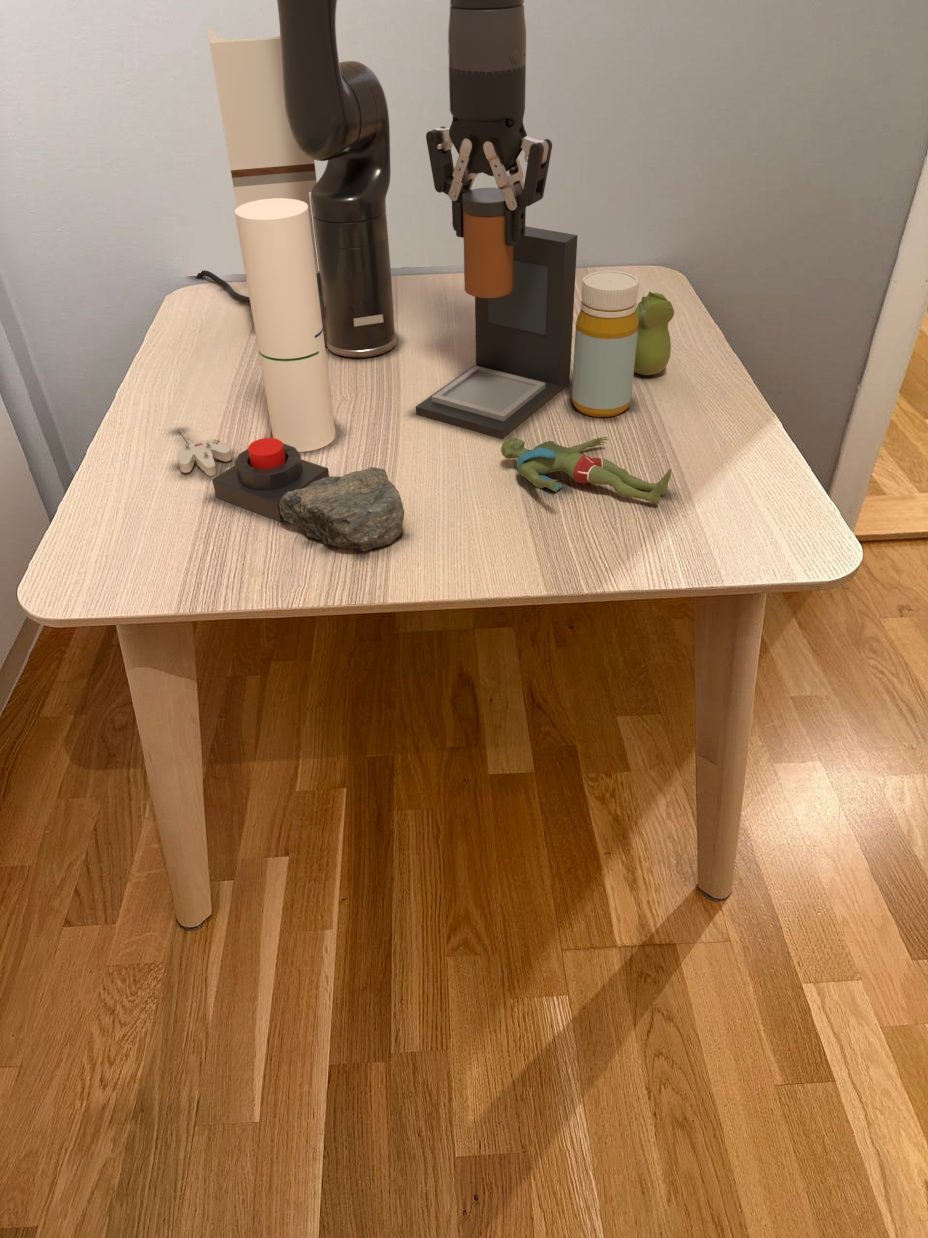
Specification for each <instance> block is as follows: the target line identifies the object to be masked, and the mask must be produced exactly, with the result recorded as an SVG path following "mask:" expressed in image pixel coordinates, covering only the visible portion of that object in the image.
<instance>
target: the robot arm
mask: <svg viewBox="0 0 928 1238" xmlns="http://www.w3.org/2000/svg"><path fill="white" fill-rule="evenodd" d="M448 1H449V2H448V3H449V12H448V13H449V14H448V15H449V16H448V26H447V56H448V57H447V60H448V91H449V93H448V94H449V96H448V97H449V112H450V114H451V116H452V120H451V124H450V126H449V127H446V126H439V127H436V128H433V129H431V130H428V131H427V132H426V134H425V139H426V146H427V152H428V157H429V163H430V168H431V173H432V180H433V185H434V186H433V187H434V190H435V191H436V192H437V193H439V194H440V193H441V194H442V193H443V194H445V195H447V196H448V198H449V199H450V201H451V219H452V223H451V224H452V225H451V226H452V229H453V231H455V236H456V237H457V238H463V239H464V233H463V210H462V194H463V193H465V192H466V191H469V190H472V188H473V184H474V181H475V179H476V177H477V176H478V175H479V174H484V175H487V176H488V177H494V180H495V181H494V182H495V184H496V186H497V188H499V189H501V190H502V193H503V196H504V199H505V202H506V204H507V207H508V209H507V210H506V224H505V243H506V245H507V246H515V245H516V244H518V243H520V241H521V239H522V238H524V235H525V226H526V217H527V216H526V213H527V211H526V210H527V207H530V206H532V205H533V204H535V203H537V202H539V201H541V200H543V198H544V195H545V189H546V183H547V178H548V173H549V167H550V161H551V155H552V150H553V142H552V141H551V140H550V138H544V139H542V140H540V139H536V138H533V137H531V136H528V134H527V131H526V128H525V124H524V118H525V117H524V116H525V111H526V77H527V75H526V73H527V70H526V69H527V26H526V18H525V15H526V14H525V4H524V3H525V0H448ZM276 3H277V11H278V21H279V36H280V39H281V56H282V73H283V89H284V101H285V109H286V115H287V120H288V124H289V127H290V130H291V133H292V135H293V137H294V139H295V141H296V143H297V144H298V146H299V147H300V149H301V150H302V151H303V152H304V153H305V154H306V155H307V156H309V157H310V158H312V159H314V161H317V162H327V163H326V166H325V168H324V171H323V173H322V175H321V176H320V178H319V179H318V180H317V183H316V185H315V186H314V188H313V189H312V192H310V206H311V214H312V223H313V231H314V239H315V248H316V256H317V265H318V273H316V276H317V284H318V292H319V301H320V309H321V318H322V326H323V334H324V342H325V347H327V349H328V351H330V352H331V353H333V354H334V355H338V356H340V357H345V358H358V359H359V358H360V359H361V358H370V357H375V356H379V355H383V354H385V353H387V352H389V351H391V350H393V349H394V347H396V344H397V333H396V325H395V311H394V298H393V283H392V268H391V255H390V243H389V231H388V216H387V215H388V214H387V195H388V192H389V188H390V184H391V169H392V168H391V130H390V128H391V127H390V113H389V112H390V111H389V107H388V106H389V105H388V101H387V100H388V99H387V96H386V93H385V90H384V89H385V88H384V87H383V84H382V82H381V80H380V78H379V77H378V75H377V74H376V72H375V71H374V70H373V69H372V68H371V67H369V66H368V65H367V64H366V63H363V62H361V61H357V60H344V61H340V59H339V58H340V57H339V51H338V50H339V49H338V40H337V10H338V9H337V8H338V3H339V0H276ZM452 147H454V148H455V150H456V152H457V154H458V157H457V159H456V163H455V166H454V161H453V154H452ZM522 151H523V152H524V162H526V163H527V165H526V171H525V177H524V172H523V169H522V165H521V163H520V160H519V156H520V154H521V153H522ZM201 271H202V272H201V273H199V272H198V273H197V275H196V277H195V278H196V279H197V280H201V279H202V278H203V277H207V278H208V279H211V280H213V281H214V282H215V283H217V284H218V285H219V286H221V287H223V288H224V289H225V290H226V292H227V293H228V294H229V295H230V296H231V297H233V298H234V299H235V300H238V301H240V302H244V303H247V304H250V298H249V296H246V295H242V294H240V293H238V292H236V291H235V290H234V289H233V287H232V286H231V285H230V284H229V283H228V282H226V281H225V280H224V279H222V278H221V277H219V276H218V275H217V274H215V273H213V272H211V271H209V270H201Z"/></svg>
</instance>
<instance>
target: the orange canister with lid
mask: <svg viewBox="0 0 928 1238" xmlns="http://www.w3.org/2000/svg"><path fill="white" fill-rule="evenodd" d="M507 209H508V207H507V204H506V202H505V199H504V196H503V193H502V190H501V189H499V188H498V187H479V188H473V189H471V190H469V191H466V192H465V193H463V194H462V210H463V233H464V238H463V271H464V272H463V273H464V274H463V275H464V276H463V277H464V291H465V293H466V294H467V295H469V296H471V297H474V298H475V297H479V298H497V297H502V296H505V295H508V294H509V293H511V292H512V290H513V246H507V245H506V243H505V224H506V210H507Z"/></svg>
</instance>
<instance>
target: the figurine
mask: <svg viewBox="0 0 928 1238" xmlns="http://www.w3.org/2000/svg"><path fill="white" fill-rule="evenodd" d="M608 440H609V439H608V437H607V436H601V437H595V438H594V439H592V440H588V441H586V442H582V443H578V444H576V445H573V446H570V447H565V446H563V445H559V444H557V443H556V442H555V441H554V440H547V441H544V442H541V444H538V445H536V446H535V447H534V448H533V449H528V448H526V447H525V444H526V441H524V440H523V439H520V438H519V439H518V437H509V438H507V439H505V440H504V441H503V442H502V445H501V448H500V452H501V454H502V456H503V457H504V458H505V459H508V460H512V459H517V464H516V465H517V467H516V468H517V472H518V474H519V476H522V477H524V478H525V479H526V480H527V481H528V482H530V483H531V484H532V485H533V486H534V487H535V488H540V489H542V488H547V489H549V490H551V491H552V492H555V493H557V492H558V490H561V489H562V488H563V487H564V485H562V483H561V482H559V479H553V478H550V477H548V476H547V475H545V474H548V473H553V472H562V473H563V472H564V473H566V474H567V475H568V476H569V477H570V478H572V479H573V480H574V481H575V482H577V483H579V484H587V483H591V484H593V485H598V486H602V485H604V486H605V485H607V486H609V487H612V488H613V490H614V491H615V492H616V493H617V494H618V495H619V496H620V497H621V498H633V499H640V500H644V501H647V502H649V503H651V504H653V505H656V506H657V505H658V504H660V501H661V497H662V496H663V497H664V496H666V494H667V491H668V490H667V489H668V485H669V481H670V479H671V477H672V476H671V475H672V468H669V469H668V470H667V471H666V473H665V474H664V476H663V477H662V478H661V479H660V480H659V481H658V482H656V483H652V482H649V481H645V480H643V479H641V478H640V477H636V476H634V475H631V474H630V473H629V472H628V471H627V470H626V468H622V467H620V466H618V465H617V464H616V463H614V462H613V461H611V460H609V459H606V458H601V457H591V456H588V455H585V454H583V453H581V452H583V451H585V450H586V449H588V448H595V447H597V446H605V444H607V443H608V442H607V441H608ZM642 490H646V491H648V492H646V491H642Z"/></svg>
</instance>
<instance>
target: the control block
mask: <svg viewBox="0 0 928 1238" xmlns="http://www.w3.org/2000/svg"><path fill="white" fill-rule="evenodd" d="M283 445H284V451H285V457H286V461H285V463H284V464H282V465H281V466H279V467H275V468H271V469H257V468H254V467H252V465H251V463H250V458H249V452H248V448H246V449H245V450H243V451H242V452H241V453H239V454H238V455H237V458H236V460H235V462H234V465H233V466H231V467H230V468H228V469H226V470H225V471H223V472H222V473H220V474H219V475H217V476H216V477H214V478H212V479H211V481H212V485H213V490H214V494H215V498H216V499H219V500H221V501H224V502H228V503H230V504H232V505H235V506H237V507H241V508H243V509H246V510H249V511H251V512H253V513H256V514H259V515H262V516H265V517H267V518H270V519H272V520H274V521H279V522H282V521H285V520H284V518H283V516H282V515H281V512H280V506H279V504H280V501H281V499H282V497H283V496H284V495H285V494H286V493H287V492H290V491H293V490H295V489H302V488H306V487H307V486H308V485H310V484H311V483H312V482H314V481H317V480H320V479H322V478H324V477H330V472H329V467H326V466H323V465H320V464H317V463H314V462H311V461H307V460H305V459H302V456H301V452H298V451H297V450H296V448H295V447H292V446H289V445H286V444H283Z"/></svg>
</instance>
